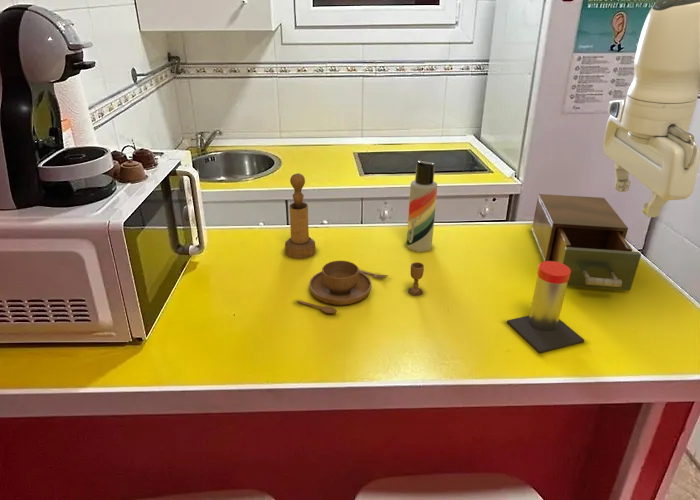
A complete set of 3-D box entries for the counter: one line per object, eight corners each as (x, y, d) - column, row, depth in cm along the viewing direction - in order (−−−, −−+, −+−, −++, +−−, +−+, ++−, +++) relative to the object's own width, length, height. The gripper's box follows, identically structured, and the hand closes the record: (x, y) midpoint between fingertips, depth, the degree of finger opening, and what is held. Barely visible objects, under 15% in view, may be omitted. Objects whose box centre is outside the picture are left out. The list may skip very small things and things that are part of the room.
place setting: (338, 263, 110) (338, 238, 107) (426, 289, 101) (428, 262, 98) (289, 303, 96) (287, 275, 94) (385, 336, 87) (387, 307, 85)
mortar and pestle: (290, 261, 110) (286, 181, 102) (281, 248, 116) (276, 171, 107) (319, 255, 113) (318, 177, 105) (309, 243, 118) (307, 167, 110)
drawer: (638, 302, 96) (649, 265, 92) (562, 296, 97) (571, 260, 94) (606, 253, 113) (615, 220, 110) (543, 248, 115) (549, 216, 111)
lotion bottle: (401, 246, 117) (406, 160, 108) (417, 238, 121) (424, 155, 111) (420, 255, 114) (427, 167, 104) (436, 247, 117) (445, 161, 108)
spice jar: (545, 312, 93) (557, 259, 88) (564, 328, 89) (577, 273, 84) (521, 317, 92) (532, 263, 87) (539, 334, 88) (552, 278, 82)
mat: (548, 313, 94) (549, 310, 94) (584, 342, 86) (584, 339, 86) (506, 323, 91) (506, 320, 91) (539, 354, 84) (539, 351, 84)
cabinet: (616, 269, 109) (628, 228, 104) (544, 264, 110) (553, 223, 106) (594, 235, 123) (604, 197, 119) (531, 231, 125) (538, 193, 120)
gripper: (723, 137, 67) (693, 231, 74) (642, 97, 84) (624, 176, 91) (674, 139, 67) (648, 234, 74) (603, 99, 84) (588, 178, 91)
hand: (634, 202), depth 83 cm, fingers open, 8 cm apart
